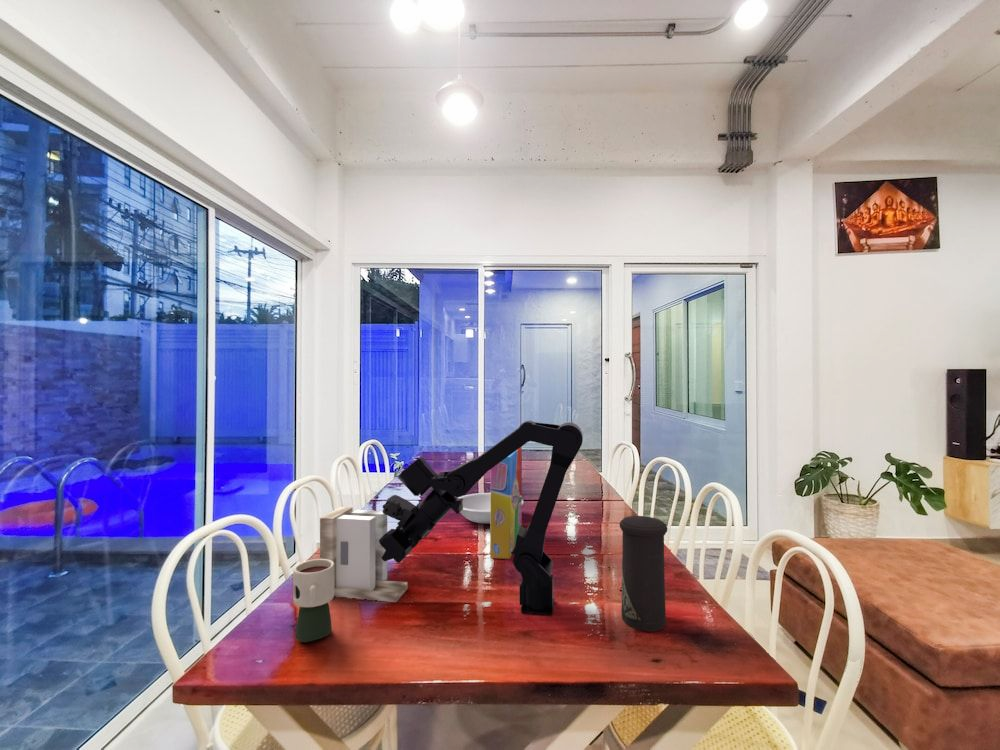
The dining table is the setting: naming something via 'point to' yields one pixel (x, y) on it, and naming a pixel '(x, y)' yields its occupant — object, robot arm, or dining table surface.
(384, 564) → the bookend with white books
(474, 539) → the dining table surface
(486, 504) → the soup bowl
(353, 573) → the door
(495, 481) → the game box
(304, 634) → the character mug
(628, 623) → the container
